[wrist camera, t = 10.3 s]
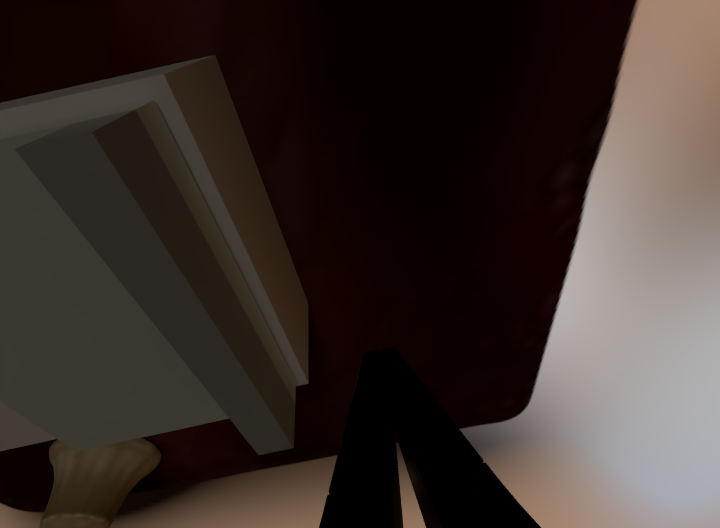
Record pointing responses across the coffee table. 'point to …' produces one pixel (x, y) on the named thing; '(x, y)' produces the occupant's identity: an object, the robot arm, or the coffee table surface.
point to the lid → (126, 292)
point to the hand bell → (95, 482)
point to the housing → (215, 181)
